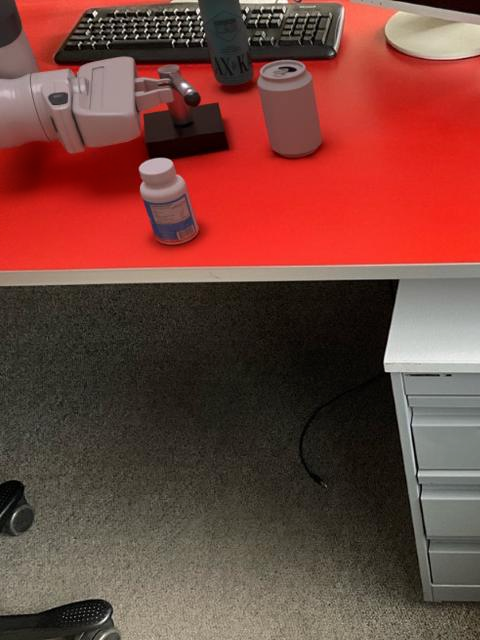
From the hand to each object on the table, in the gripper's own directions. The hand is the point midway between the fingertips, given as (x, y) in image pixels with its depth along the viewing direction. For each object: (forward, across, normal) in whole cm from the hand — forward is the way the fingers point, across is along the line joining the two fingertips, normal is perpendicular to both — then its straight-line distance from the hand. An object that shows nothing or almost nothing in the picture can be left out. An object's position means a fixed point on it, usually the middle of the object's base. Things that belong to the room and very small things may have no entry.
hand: (172, 89), depth 122 cm
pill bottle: (-3, +21, -10) cm, 24 cm away
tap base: (0, -5, -10) cm, 11 cm away
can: (+15, +3, -10) cm, 18 cm away
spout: (+1, -1, -7) cm, 7 cm away
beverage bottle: (+9, -22, -10) cm, 26 cm away
